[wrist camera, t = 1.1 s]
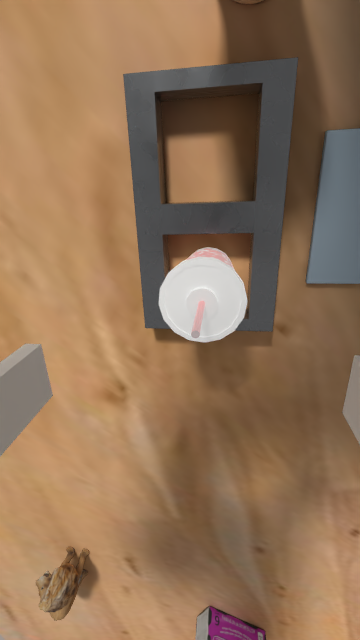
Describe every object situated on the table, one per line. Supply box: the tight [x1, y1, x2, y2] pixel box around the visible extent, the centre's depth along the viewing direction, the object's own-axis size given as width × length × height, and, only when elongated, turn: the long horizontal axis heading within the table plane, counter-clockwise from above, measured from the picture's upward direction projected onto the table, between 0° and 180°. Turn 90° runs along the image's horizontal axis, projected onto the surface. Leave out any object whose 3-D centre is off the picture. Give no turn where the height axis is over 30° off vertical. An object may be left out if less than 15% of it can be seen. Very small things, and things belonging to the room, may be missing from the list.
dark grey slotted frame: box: [123, 57, 298, 331], centre depth 26 cm, size 20×12×2 cm, turn 2°
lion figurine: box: [36, 547, 89, 621], centre depth 47 cm, size 15×5×9 cm, turn 176°
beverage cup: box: [159, 247, 247, 343], centre depth 22 cm, size 6×6×14 cm
